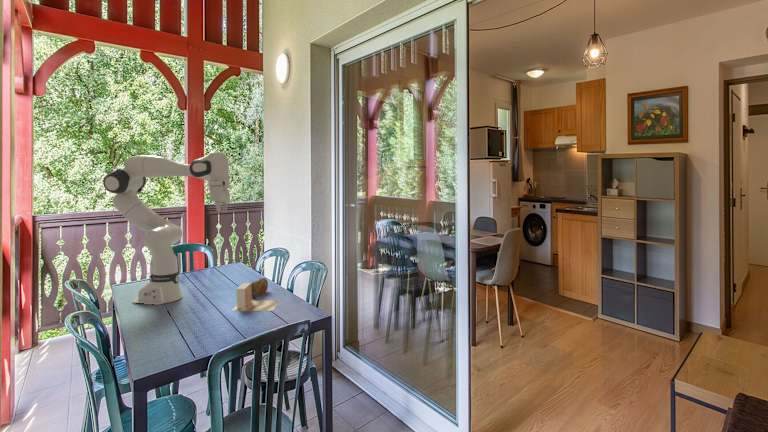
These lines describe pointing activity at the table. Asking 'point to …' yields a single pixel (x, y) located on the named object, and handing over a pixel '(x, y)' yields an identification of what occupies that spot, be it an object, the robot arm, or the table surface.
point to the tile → (244, 295)
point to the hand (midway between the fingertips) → (221, 211)
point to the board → (259, 306)
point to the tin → (259, 287)
